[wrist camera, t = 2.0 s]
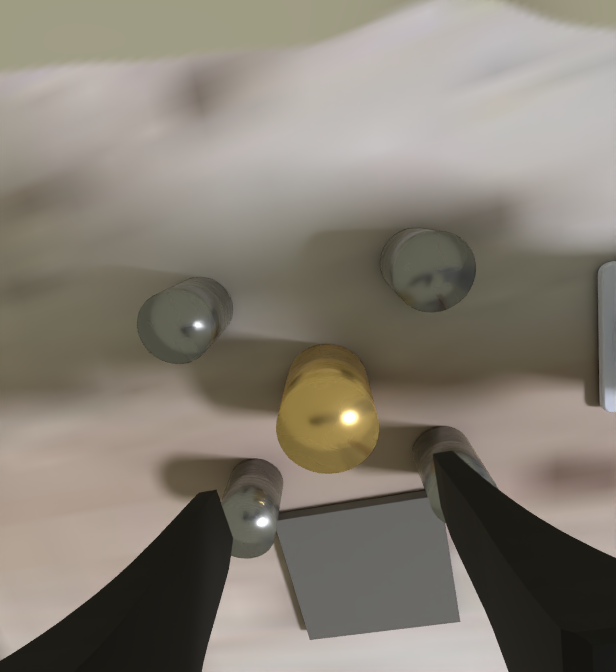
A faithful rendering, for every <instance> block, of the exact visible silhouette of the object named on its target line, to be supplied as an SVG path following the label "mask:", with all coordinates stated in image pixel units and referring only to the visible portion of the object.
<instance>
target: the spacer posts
mask: <svg viewBox="0 0 616 672" xmlns="http://www.w3.org/2000/svg"><path fill="white" fill-rule="evenodd" d="M380 267H381V272H382V275H383V277H384V279H385V280H386V282H387V283H388V284H389V285H390V286H391V287H392V289H393V290H394V291H395V292H396V293H397V294H398V295H399V296H400V297H401V298H402V299H403V300H404V301H405V302H406V303H407V304H408V305H409V306H411V307H413V308H414V309H417V310H420V311H424V312H438V311H443V310H446V309H448V308H450V307H452V306H454V305H456V304H457V303H458V302H460V301H461V300H462V299H463V298H464V297H465V296H466V294H467V293H468V292H469V290H470V288H471V286H472V284H473V281H474V278H475V272H476V264H475V258H474V255H473V253H472V251H471V249H470V247H469V246H468V245H467V243H466V242H465V241H464V240H462V239H461V238H460V237H458V236H456V235H454V234H452V233H448V232H443V231H436V230H428V229H421V228H410V229H406V230H403V231H401V232H399V233H397V234H396V235H394V236H393V237H392V238H391V239H390V240H389V241H388V242H387V244H386V245H385V247H384V249H383V251H382V254H381V260H380ZM232 314H233V305H232V301H231V298H230V296H229V294H228V292H227V291H226V290H225V288H224V287H223V286H221V285H220V284H219V283H218V282H216V281H214V280H212V279H209V278H204V277H196V278H191V279H188V280H186V281H184V282H182V283H180V284H178V285H176V286H173V287H171V288H169V289H167V290H165V291H163V292H161V293H158V294H156V295H154V296H152V297H151V298H149V299H148V300H147V301H146V302H145V303H144V304H143V306H142V308H141V309H140V312H139V315H138V320H137V328H138V333H139V336H140V339H141V341H142V343H143V344H144V346H145V347H146V348H147V349H148V351H149V352H150V353H152V354H153V355H154V356H156V357H157V358H159V359H161V360H163V361H165V362H169V363H174V364H183V363H188V362H191V361H194V360H196V359H197V358H199V357H200V356H201V355H202V354H203V353H204V352H205V351H206V350H207V349H208V348H209V346H210V345H211V344H212V343H213V342H214V341H215V340H216V339H217V337H218V336H219V335H220V334H221V333H222V332H223V331H224V330H225V328H226V327H227V326H228V325H229V323H230V321H231V318H232ZM446 451H453V452H455V453H456V454H457V455H458V456H459V457H461V458H462V459H463V460H464V461H465V462H466V463H467V464H468V465H469V466H471V467H472V468H473V469H474V470H475V471H476V472H477V473H479V474H480V475H481V476H482V477H483V478H485V479H486V480H487V481H488V482H490V483H491V484H492V485H493V486H495V487H496V488H497V486H496V484H495V482H494V481H493V479H492V478H491V476H490V474H489V473H488V471H487V470H486V468H485V467H484V465H483V463H482V462H481V460H480V459H479V457H478V456H477V454H476V452H475V451H474V449H473V448H472V446H471V444H470V443H469V441H468V440H467V438H466V437H465V435H464V434H463V433H462V432H460V431H459V430H457V429H455V428H452V427H446V426H440V427H434V428H431V429H429V430H427V431H425V432H424V433H422V434H421V435H420V436H419V437H418V439H417V440H416V442H415V444H414V447H413V458H414V461H415V464H416V466H417V469H418V472H419V475H420V477H421V480H422V483H423V486H424V488H425V491H426V494H427V497H428V499H429V502H430V505H431V508H432V510H433V512H434V514H435V515H436V516H437V517H438V518H439V519H440V520H441V521H443V522H444V523H446V521H445V518H444V515H443V512H442V509H441V506H440V499H439V493H438V487H437V480H436V474H435V467H434V461H433V454H434V453H440V452H446ZM282 489H283V478H282V475H281V473H280V471H279V470H278V469H277V468H276V467H275V466H274V465H273V464H271V463H269V462H267V461H265V460H261V459H249V460H245V461H243V462H241V463H239V464H238V465H237V466H236V467H235V468H234V469H233V471H232V473H231V476H230V479H229V482H228V484H227V487H226V490H225V493H224V495H223V498H222V501H221V504H222V507H223V510H224V513H225V516H226V519H227V522H228V524H229V527H230V530H231V533H232V536H233V544H232V551H231V556H234V557H238V558H254V557H258V556H260V555H263V554H264V553H266V552H267V551H268V550H269V549H270V548H271V546H272V545H273V543H274V539H275V533H276V527H277V520H278V514H279V508H280V501H281V495H282ZM497 489H498V488H497Z"/></svg>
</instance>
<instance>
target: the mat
mask: <svg viewBox="0 0 616 672" xmlns="http://www.w3.org/2000/svg"><path fill="white" fill-rule="evenodd" d="M276 531H277V534H278V537H279V540H280V544H281V547H282V550H283V553H284V557H285V560H286V563H287V566H288V570H289V573H290V576H291V580H292V583H293V586H294V589H295V593H296V596H297V599H298V602H299V606H300V609H301V612H302V615H303V619H304V622H305V625H306V628H307V632H308V635H309V638H310V640H313V639H322V638H330V637H338V636H346V635H355V634H363V633H371V632H379V631H388V630H396V629H404V628H413V627H421V626H429V625H437V624H446V623H454V622H460V618H459V611H458V605H457V598H456V592H455V585H454V579H453V572H452V566H451V559H450V553H449V546H448V540H447V533H446V527H445V523H444V522H443V521H441V520H440V519H439V518H438V517H437V516H436V515H435V514H434V512H433V510H432V508H431V505H430V502H429V499H428V497H427V494H426V491H418V492H412V493H406V494H399V495H393V496H387V497H380V498H374V499H367V500H361V501H355V502H348V503H342V504H336V505H329V506H323V507H316V508H310V509H304V510H297V511H291V512H285V513H279V514H278V520H277V527H276Z"/></svg>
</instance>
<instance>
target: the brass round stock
mask: <svg viewBox="0 0 616 672" xmlns="http://www.w3.org/2000/svg"><path fill="white" fill-rule="evenodd" d="M276 432H277V437H278V441H279V443H280V446H281V447H282V449H283V451H284V452H285V454H286V455H287V456H288V457H289V458H290V459H291V460H292V461H293V462H295V463H296V464H298V465H299V466H301V467H303V468H305V469H307V470H310V471H313V472H317V473H339V472H344V471H347V470H349V469H352V468H354V467H356V466H357V465H359V464H360V463H362V462H363V461H364V460H365V459H366V458H367V457H368V456H369V455H370V454H371V452H372V451H373V449H374V447H375V445H376V443H377V440H378V436H379V421H378V417H377V413H376V409H375V405H374V401H373V397H372V393H371V389H370V386H369V382H368V378H367V374H366V370H365V368H364V366H363V364H362V362H361V361H360V359H359V358H358V357H357V356H356V355H355V354H354V353H352V352H351V351H349V350H348V349H346V348H343V347H341V346H337V345H331V344H323V345H317V346H313V347H311V348H308V349H307V350H305V351H303V352H302V353H301V354H299V355H298V356H297V357H296V359H295V360H294V361H293V363H292V364H291V366H290V369H289V372H288V376H287V380H286V384H285V389H284V393H283V397H282V401H281V405H280V409H279V414H278V418H277V424H276Z"/></svg>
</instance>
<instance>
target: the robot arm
mask: <svg viewBox="0 0 616 672" xmlns="http://www.w3.org/2000/svg"><path fill="white" fill-rule="evenodd" d="M598 326H599V394H600V406H601V407H602V408H603V409H604V410H606V411H608V412H616V261H612V262H608V263H605V264H604V265H602V266H601V267H600V269H599V271H598ZM433 461H434V467H435V474H436V480H437V487H438V493H439V499H440V506H441V509H442V512H443V515H444V518H445V521H446V524H447V527H448V530H449V533H450V536H451V538H452V540H453V543H454V545H455V547H456V549H457V551H458V553H459V556H460V558H461V560H462V562H463V564H464V566H465V569H466V571H467V573H468V575H469V577H470V579H471V581H472V583H473V586H474V588H475V590H476V592H477V594H478V596H479V598H480V601H481V603H482V605H483V607H484V609H485V611H486V614H487V616H488V618H489V621H490V623H491V626H492V628H493V631H494V633H495V636H496V639H497V641H498V644H499V647H500V650H501V652H502V655H503V658H504V660H505V663H506V666H507V669H508V671H509V672H616V558H615V557H612V556H610V555H608V554H606V553H604V552H602V551H599V550H597V549H595V548H593V547H591V546H589V545H587V544H585V543H583V542H581V541H579V540H577V539H575V538H573V537H571V536H570V535H568V534H566V533H564V532H562V531H560V530H559V529H557V528H555V527H553V526H552V525H550V524H548V523H547V522H545V521H543V520H542V519H540V518H538V517H537V516H535V515H534V514H532V513H531V512H529V511H528V510H526V509H525V508H523V507H522V506H520V505H519V504H518V503H516V502H515V501H513V500H512V499H510V498H509V497H508V496H506V495H505V494H504V493H502V492H501V491H500V490H499V489H497V488H496V487H495V486H493V485H492V484H491V483H490V482H488V481H487V480H486V479H485V478H483V477H482V476H481V475H480V474H479V473H477V472H476V471H475V470H474V469H473V468H472V467H471V466H469V465H468V464H467V463H466V462H465V461H464V460H463V459H462V458H461V457H459V456H458V455H457V454H456V453H455V452H453V451H446V452H440V453H434V454H433ZM232 544H233V536H232V533H231V530H230V527H229V524H228V522H227V519H226V516H225V513H224V510H223V507H222V504H221V502H220V499H219V496H218V493H217V490H213V491H207V492H201V493H199V494H198V495H196V496H195V497H194V498H193V499H192V500H191V501H190V503H189V504H188V505H187V506H186V507H185V508H184V509H183V510H182V511H181V512H180V513H179V514H178V515H177V516H176V518H175V519H174V520H173V521H172V522H171V523H170V524H169V525H168V526H167V527H166V528H165V529H164V530H163V531H162V532H161V534H160V535H159V536H158V537H157V538H156V539H155V540H154V541H153V542H152V543H151V544H150V545H149V546H148V547H147V548H146V549H145V550H144V551H143V552H142V553H141V554H140V555H139V556H138V557H137V558H136V559H135V560H134V561H133V562H132V563H131V564H130V565H129V566H127V567H126V568H125V569H124V570H123V571H122V572H121V573H120V574H119V575H118V576H117V577H115V578H114V579H113V580H112V581H111V582H110V583H108V584H107V585H106V586H105V587H104V588H103V589H101V590H100V591H99V592H98V593H97V594H95V595H94V596H93V597H92V598H90V599H89V600H88V601H86V602H85V603H84V604H82V605H81V606H80V607H79V608H77V609H76V610H75V611H73V612H72V613H71V614H69V615H68V616H67V617H66V618H64V619H63V620H62V621H60V622H59V623H57V624H56V625H55V626H53V627H52V628H50V629H49V630H47V631H46V632H44V633H43V634H42V635H40V636H39V637H37V638H36V639H34V640H33V641H31V642H30V643H28V644H27V645H25V646H24V647H22V648H20V649H19V650H17V651H16V652H14V653H13V654H11V655H9V656H8V657H6V658H4V659H3V660H1V661H0V672H202V667H203V662H204V658H205V654H206V650H207V645H208V642H209V638H210V635H211V631H212V628H213V624H214V621H215V617H216V614H217V610H218V606H219V603H220V599H221V596H222V592H223V589H224V585H225V581H226V578H227V574H228V570H229V564H230V558H231V551H232Z"/></svg>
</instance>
